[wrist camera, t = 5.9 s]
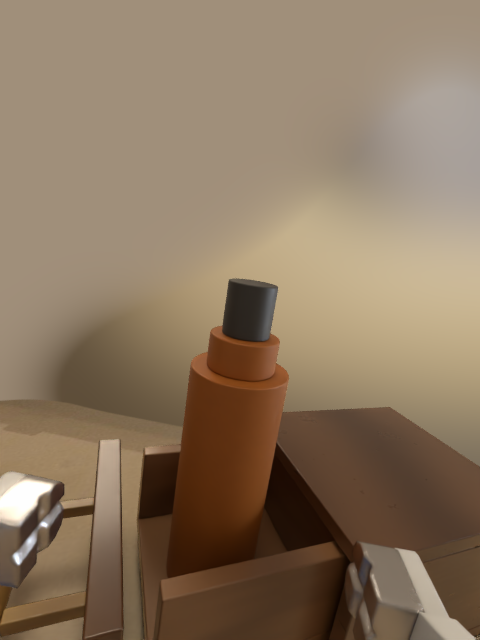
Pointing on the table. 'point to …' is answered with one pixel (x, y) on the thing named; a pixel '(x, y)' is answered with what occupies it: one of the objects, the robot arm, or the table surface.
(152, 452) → the drawer
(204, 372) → the lotion bottle
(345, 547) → the cabinet
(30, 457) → the table surface
